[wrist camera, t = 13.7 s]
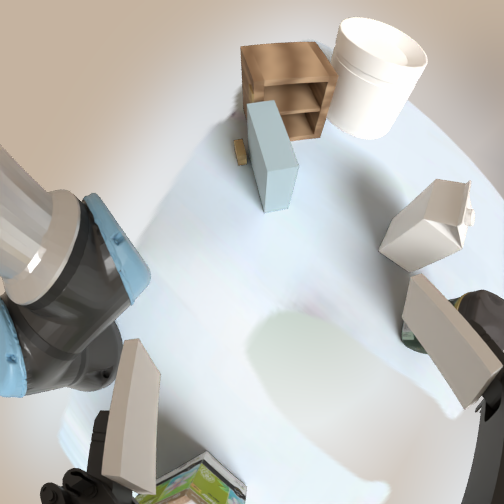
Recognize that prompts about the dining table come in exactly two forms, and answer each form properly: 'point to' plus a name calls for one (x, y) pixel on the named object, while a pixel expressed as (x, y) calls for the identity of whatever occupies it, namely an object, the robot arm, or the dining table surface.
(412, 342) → the coffee jar
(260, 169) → the door
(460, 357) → the robot arm
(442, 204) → the milk carton
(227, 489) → the tea box
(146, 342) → the dining table surface
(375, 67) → the canister
